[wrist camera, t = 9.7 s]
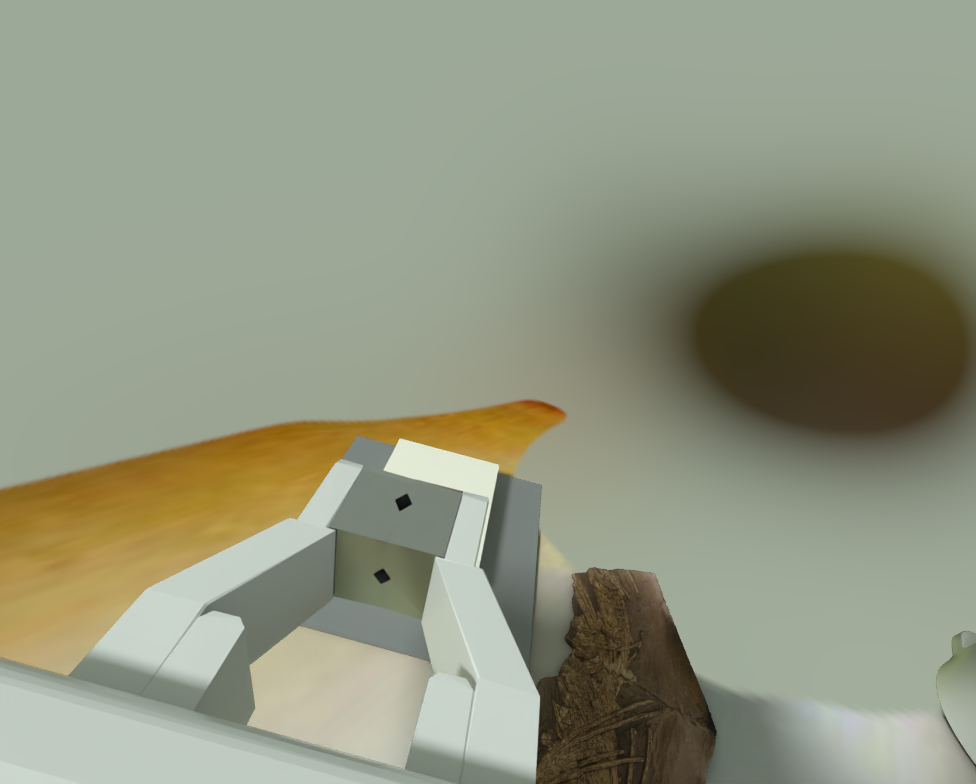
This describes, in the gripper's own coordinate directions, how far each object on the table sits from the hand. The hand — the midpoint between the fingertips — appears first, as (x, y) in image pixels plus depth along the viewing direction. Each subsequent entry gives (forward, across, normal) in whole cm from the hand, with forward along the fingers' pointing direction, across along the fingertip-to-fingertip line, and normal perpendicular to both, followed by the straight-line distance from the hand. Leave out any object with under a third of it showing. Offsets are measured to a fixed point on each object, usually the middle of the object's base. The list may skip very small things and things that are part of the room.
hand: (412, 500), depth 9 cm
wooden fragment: (+8, -13, +23) cm, 28 cm away
